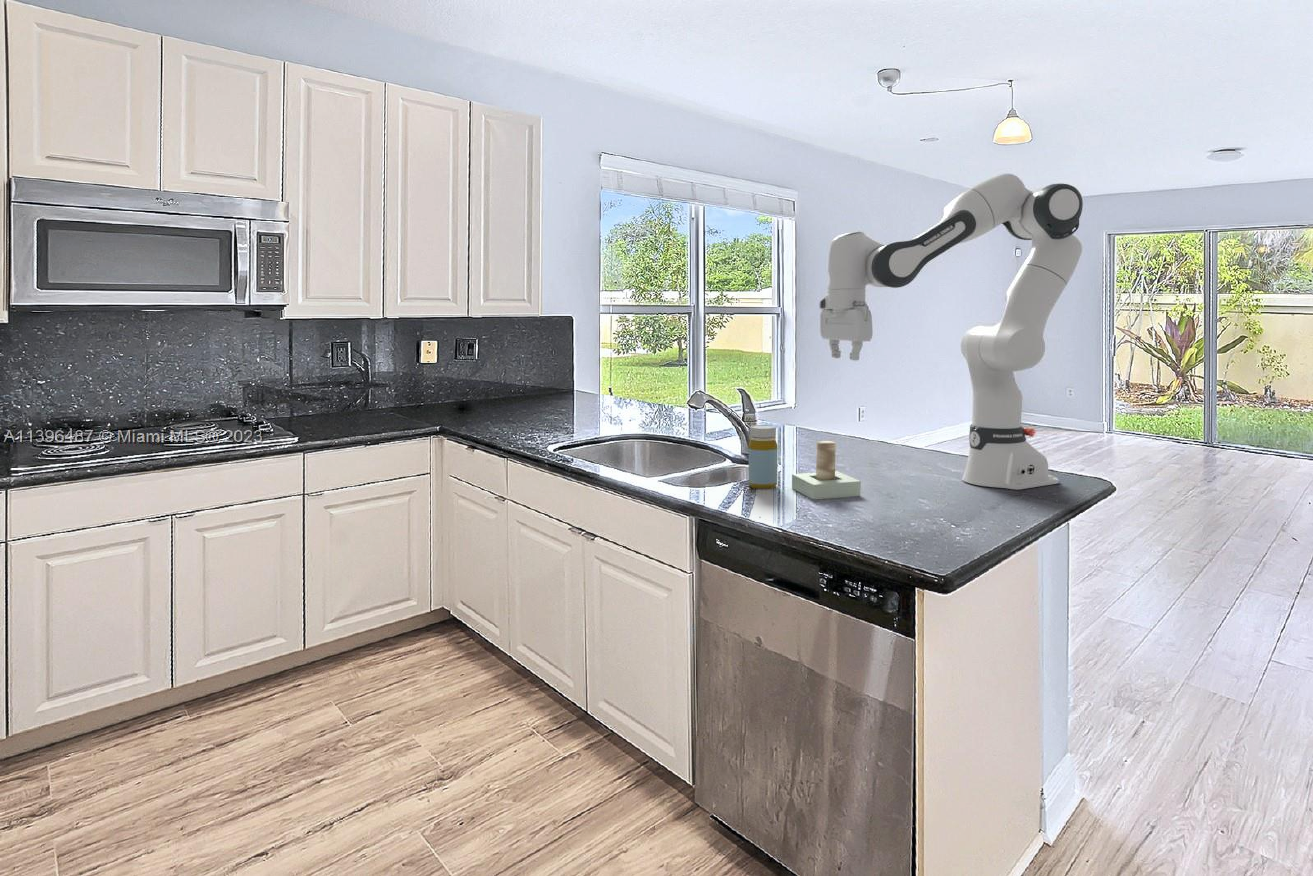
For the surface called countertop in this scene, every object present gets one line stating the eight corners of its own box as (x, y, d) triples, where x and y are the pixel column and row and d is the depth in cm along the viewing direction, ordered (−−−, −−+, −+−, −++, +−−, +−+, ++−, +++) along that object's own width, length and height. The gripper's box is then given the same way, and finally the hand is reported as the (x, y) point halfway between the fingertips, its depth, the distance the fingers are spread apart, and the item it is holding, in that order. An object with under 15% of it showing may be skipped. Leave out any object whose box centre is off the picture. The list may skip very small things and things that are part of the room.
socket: (836, 484, 194) (836, 470, 193) (860, 495, 182) (860, 481, 182) (791, 488, 191) (792, 474, 190) (813, 499, 179) (813, 484, 179)
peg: (829, 489, 189) (830, 440, 187) (837, 493, 185) (839, 443, 183) (812, 490, 188) (813, 441, 186) (820, 494, 184) (821, 444, 182)
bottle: (758, 482, 198) (758, 423, 196) (782, 485, 194) (782, 426, 191) (743, 487, 193) (743, 427, 190) (767, 491, 188) (768, 429, 186)
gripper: (880, 300, 178) (878, 361, 181) (838, 301, 198) (837, 356, 200) (855, 301, 177) (853, 362, 179) (816, 302, 196) (815, 357, 199)
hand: (844, 359), depth 190 cm, fingers open, 8 cm apart
